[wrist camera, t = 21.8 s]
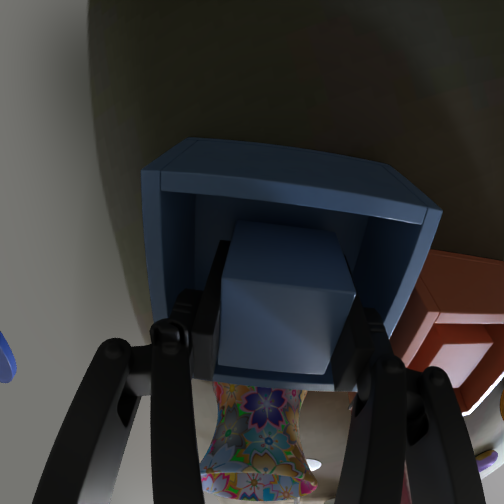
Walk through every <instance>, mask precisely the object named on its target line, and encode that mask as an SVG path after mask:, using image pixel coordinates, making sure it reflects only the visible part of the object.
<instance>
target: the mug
mask: <svg viewBox="0 0 504 504" xmlns="http://www.w3.org/2000/svg"><path fill="white" fill-rule="evenodd" d="M213 390H214V393H215V396H216V399H217V404H218V419H217V426H216V430H215V434H214V437H213V440H212V442H211V445H210V447H209V449H208V451H207V453H206V455H205V456H204V458H203V460H202V461H201V463H200V472H201V479H202V486H203V491H206V492H208V493H211V494H214V495H218V496H222V497H226V498H231V499H238V500H248V501H278V500H287V499H293V498H297V497H301V496H304V495H307V494H309V493H311V492H313V491H314V490H315V489H316V488H317V480H316V479H315V477H314V475H313V474H312V472H311V470H310V468H309V466H308V464H307V461H306V459H305V456H304V453H303V450H302V446H301V442H300V436H299V413H300V409H301V405H302V402H303V400H304V398H305V397H306V394H307V390H292V389H278V388H266V387H255V386H246V385H237V384H229V383H221V382H214V381H213Z"/></svg>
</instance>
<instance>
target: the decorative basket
mask: <svg viewBox="0 0 504 504" xmlns="http://www.w3.org/2000/svg"><path fill="white" fill-rule="evenodd" d="M500 412H501V416H502V418H503V420H504V390H503V392H502V395H501V399H500Z"/></svg>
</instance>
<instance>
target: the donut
mask: <svg viewBox="0 0 504 504" xmlns="http://www.w3.org/2000/svg"><path fill="white" fill-rule="evenodd" d="M497 457H498V453H497V452H496V451H494V450H490V451H486V452H484V453H482V454H480V455H478V456H476V457H475V458H476V462H477V466H478V470H479V472H481V471H483V470H485V469H486V468H488V467H490V466H491V465H492V464H493V463H494V462H495V461H496V460H497Z"/></svg>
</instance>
